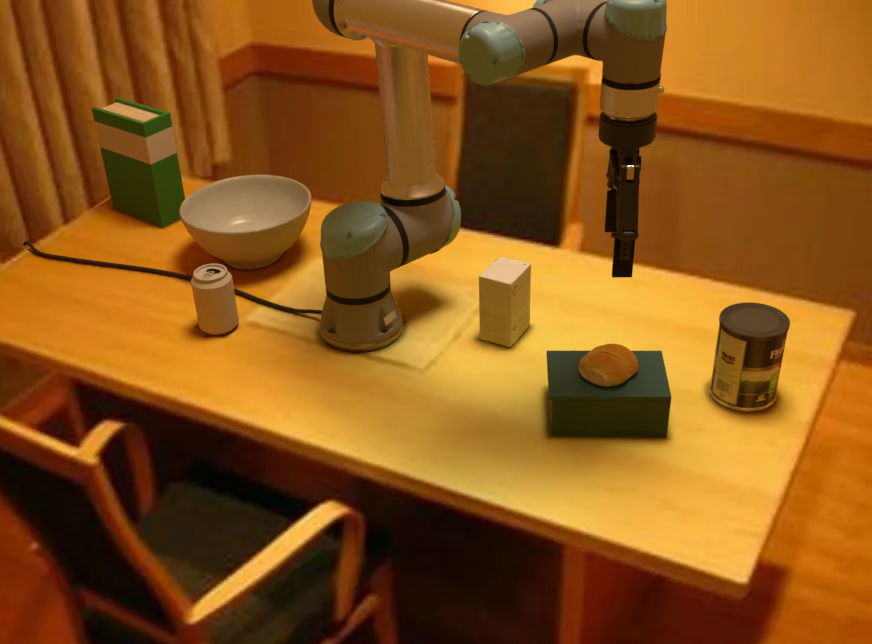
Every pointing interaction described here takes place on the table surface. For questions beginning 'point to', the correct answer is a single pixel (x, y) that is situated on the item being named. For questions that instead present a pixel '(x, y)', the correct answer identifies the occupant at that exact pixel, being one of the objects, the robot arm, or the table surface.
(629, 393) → the lunchbox lid
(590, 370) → the bread roll
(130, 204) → the hardback book
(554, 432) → the box
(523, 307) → the small box
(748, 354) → the coffee can
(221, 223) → the decorative bowl
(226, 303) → the can
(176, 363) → the table surface
